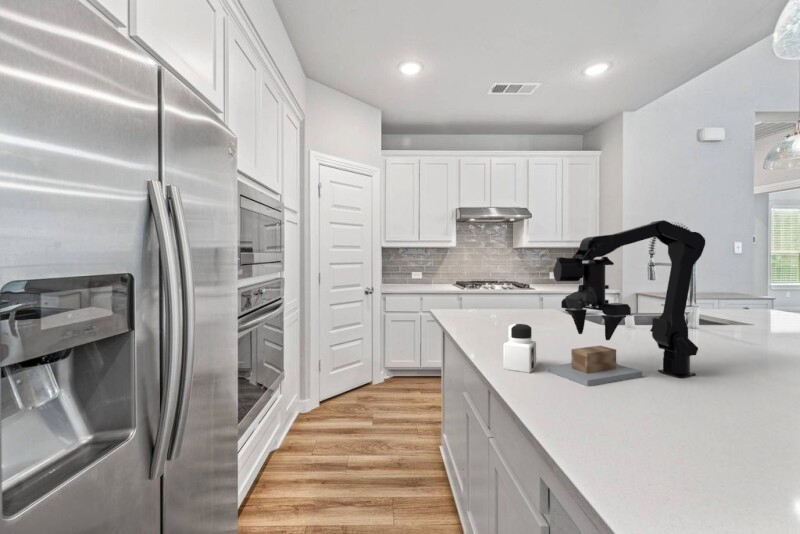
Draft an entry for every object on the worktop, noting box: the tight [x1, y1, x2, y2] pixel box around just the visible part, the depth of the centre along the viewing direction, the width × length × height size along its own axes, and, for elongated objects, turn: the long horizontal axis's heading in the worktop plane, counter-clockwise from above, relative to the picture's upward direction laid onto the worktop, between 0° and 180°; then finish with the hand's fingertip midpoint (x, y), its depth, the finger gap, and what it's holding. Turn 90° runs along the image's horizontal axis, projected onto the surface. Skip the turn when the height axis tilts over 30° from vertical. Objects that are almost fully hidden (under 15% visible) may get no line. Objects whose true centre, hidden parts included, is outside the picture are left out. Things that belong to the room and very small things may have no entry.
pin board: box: [547, 362, 643, 387], centre depth 109 cm, size 20×14×5 cm
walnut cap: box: [571, 345, 617, 374], centre depth 109 cm, size 11×5×6 cm, turn 112°
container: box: [502, 323, 537, 374], centre depth 116 cm, size 8×8×13 cm
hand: (593, 337), depth 109 cm, fingers open, 9 cm apart
